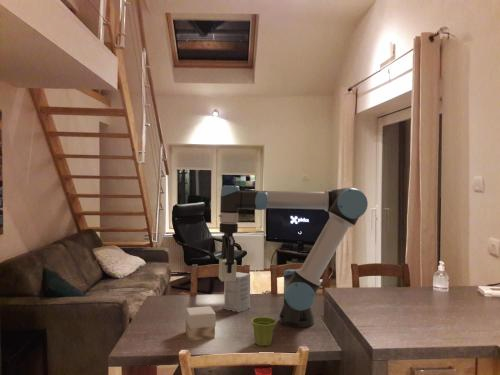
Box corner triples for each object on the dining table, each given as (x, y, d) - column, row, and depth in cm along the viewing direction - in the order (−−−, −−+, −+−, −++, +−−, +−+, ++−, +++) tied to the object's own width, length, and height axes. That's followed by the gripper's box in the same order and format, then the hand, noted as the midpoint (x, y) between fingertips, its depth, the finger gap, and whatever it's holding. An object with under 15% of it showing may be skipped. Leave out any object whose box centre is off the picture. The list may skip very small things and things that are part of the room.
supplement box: (250, 308, 198) (251, 273, 197) (240, 313, 190) (240, 277, 190) (234, 304, 203) (235, 271, 203) (223, 309, 195) (224, 274, 195)
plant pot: (258, 336, 160) (258, 315, 160) (279, 341, 156) (280, 319, 156) (246, 344, 152) (246, 322, 152) (268, 350, 148) (268, 326, 147)
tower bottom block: (209, 330, 168) (209, 318, 168) (214, 339, 158) (214, 326, 158) (185, 332, 165) (185, 320, 165) (189, 341, 155) (189, 328, 155)
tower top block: (210, 318, 168) (210, 306, 168) (215, 326, 158) (215, 313, 158) (186, 320, 165) (186, 308, 165) (190, 328, 155) (190, 315, 155)
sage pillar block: (232, 277, 170) (233, 258, 170) (235, 280, 165) (236, 261, 165) (218, 277, 169) (219, 258, 169) (221, 281, 163) (222, 261, 163)
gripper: (215, 220, 175) (213, 273, 175) (224, 225, 156) (222, 284, 157) (232, 220, 177) (230, 273, 177) (243, 225, 158) (241, 284, 159)
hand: (226, 278), depth 167 cm, fingers closed on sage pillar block, 6 cm apart
